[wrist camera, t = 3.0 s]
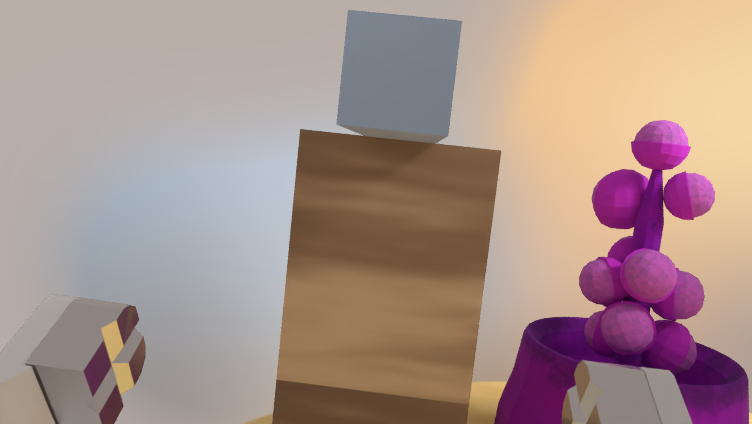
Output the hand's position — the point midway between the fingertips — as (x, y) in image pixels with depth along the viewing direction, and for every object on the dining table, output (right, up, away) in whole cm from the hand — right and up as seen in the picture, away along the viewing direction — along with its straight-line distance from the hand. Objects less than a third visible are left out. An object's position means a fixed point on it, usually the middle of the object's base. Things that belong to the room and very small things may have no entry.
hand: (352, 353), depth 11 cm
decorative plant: (+19, -20, +37) cm, 46 cm away
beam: (+2, +6, +21) cm, 22 cm away
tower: (-1, -19, +27) cm, 33 cm away
